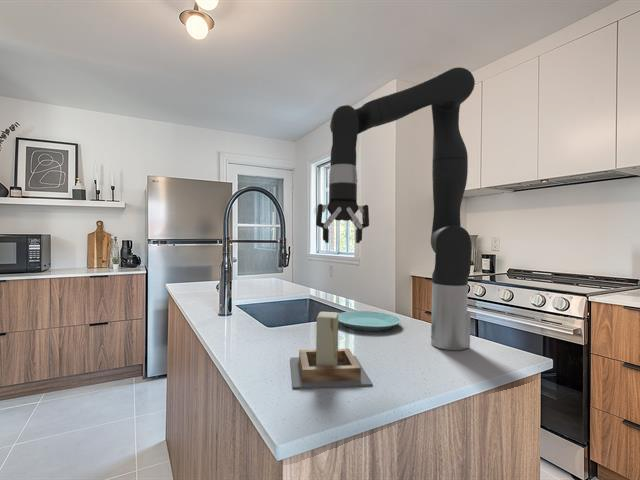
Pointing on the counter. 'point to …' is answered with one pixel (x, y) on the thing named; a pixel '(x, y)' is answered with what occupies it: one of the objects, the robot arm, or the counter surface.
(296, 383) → the mat
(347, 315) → the plate
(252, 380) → the counter surface
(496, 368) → the counter surface
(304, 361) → the collar
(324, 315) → the skincare box
